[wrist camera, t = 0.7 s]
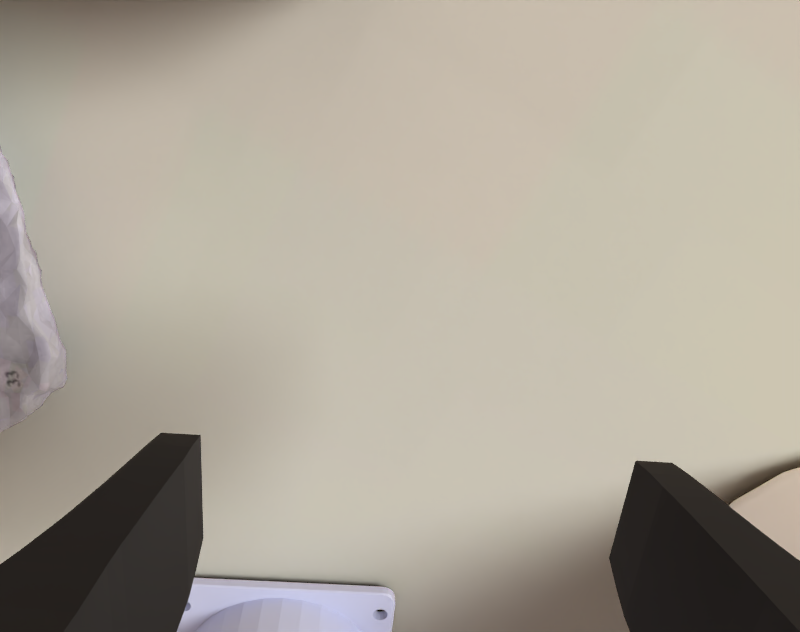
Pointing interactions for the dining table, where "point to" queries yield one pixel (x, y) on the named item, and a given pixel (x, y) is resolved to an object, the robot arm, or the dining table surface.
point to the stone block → (23, 317)
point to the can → (775, 510)
